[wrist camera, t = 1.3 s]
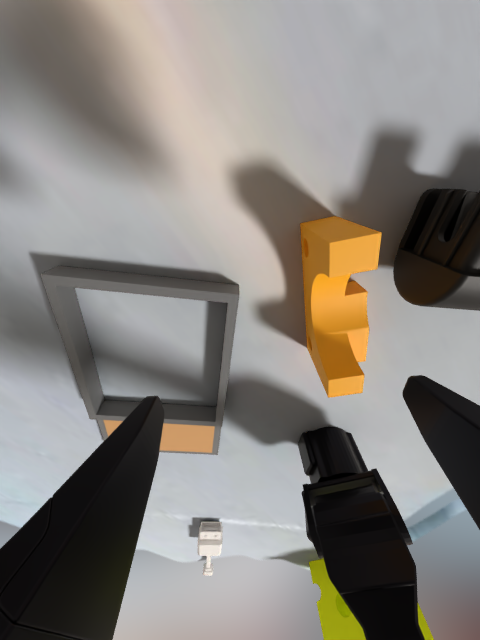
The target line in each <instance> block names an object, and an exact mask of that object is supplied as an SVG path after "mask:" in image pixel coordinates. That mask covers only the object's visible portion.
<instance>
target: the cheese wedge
mask: <svg viewBox="0 0 480 640" xmlns="http://www.w3.org/2000/svg"><path fill="white" fill-rule="evenodd" d="M309 565H310V570H311V575H312V581H313V584H314V583H317V584H318V585H319V587H320V589H321V598H320V600H319V601H318V602H317V606H318V611H319V617H320V622H321V627H322V632H323V637H324V640H366V638H365V635H364V631H363V629H362V627H361V625H360V624H359V622H358V621H357V619H356V618H355V617H354V615H353V614H352V612H351V611H350V609H349V608H348V606H347V605H346V603H345V602H344V600H343V599H342V597H341V596H340V594H339V593H338V591H337V590H336V588H335V587H334V585H333V584H332V582H331V581H330V579H329V576H328V573H327V570H326V566H325V562H324V559H319V560H315V561H311V562H309ZM418 623H419V626H420V629H421V631H422V634H423V636H424V638H425V640H434V639H433V636H432V634H431V632H430V629H429V627H428V625H427V623H426V620H425V618H424V616H423V614H422V611H421V609H420V606H419V604H418Z"/></svg>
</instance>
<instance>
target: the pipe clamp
mask: <svg viewBox="0 0 480 640" xmlns="http://www.w3.org/2000/svg"><path fill="white" fill-rule="evenodd" d="M300 228H301V247H302V265H303V283H304V301H305V319H306V338H307V349H308V351H309V353H310V356H311V358H312V360H313V363H314V365H315V367H316V370H317V372H318V374H319V377H320V379H321V381H322V384H323V386H324V388H325V391H326V393H327V395H328V398H329V397H336V396H343V395H350V394H357V393H362V391H363V383H364V373H363V372H362V370H361V368H360V366H359V365H358V362H362V361H365V360H366V352H367V343H368V335H369V325H368V318H367V294H368V292H367V291H366V290H365V289H364V288H363V287H362V286H360V285H359V284H358V283H357V282H356V281H351V282H348V280H349V277H350V276H351V274H354V273H359V272H364V271H370V270H375V269H377V267H378V259H379V251H380V243H381V234H382V233H381V232H379V231H376V230H373V229H370V228H367V227H365V226H362V225H359V224H356V223H354V222H351V221H348V220H345V219H342V218H340V217H337V216H333V217H328V218H323V219H318V220H314V221H309V222H304V223H300Z"/></svg>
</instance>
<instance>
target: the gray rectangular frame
mask: <svg viewBox="0 0 480 640" xmlns="http://www.w3.org/2000/svg"><path fill="white" fill-rule="evenodd" d="M40 275H41V278H42V281H43V284H44V287H45V290H46V293H47V296H48V298H49V301H50V304H51V307H52V310H53V313H54V316H55V319H56V322H57V325H58V328H59V331H60V334H61V336H62V339H63V342H64V345H65V348H66V351H67V354H68V357H69V360H70V363H71V366H72V369H73V371H74V374H75V377H76V380H77V383H78V386H79V389H80V392H81V395H82V398H83V401H84V404H85V406H86V409H87V412H88V415H89V418H90V419H96V420H114V421H124V420H125V418H126V417H127V416H128V415H129V414H130V413H131V412H132V411H133V410H134V409H135V408H136V407H137V406H138V405H139V404H140V403H141V402H129V401H113V400H105V399H104V395H103V391H102V388H101V384H100V380H99V377H98V373H97V369H96V365H95V362H94V358H93V354H92V351H91V347H90V343H89V340H88V336H87V332H86V329H85V325H84V321H83V317H82V314H81V310H80V306H79V303H78V299H77V295H76V292H75V288H83V289H94V290H104V291H114V292H124V293H134V294H144V295H154V296H164V297H174V298H184V299H194V300H204V301H214V302H224V303H227V313H226V322H225V332H224V341H223V351H222V360H221V370H220V379H219V389H218V399H217V407H208V406H192V405H176V404H162V406H163V408H164V412H165V416H164V423H167V424H184V425H202V426H219V427H222V422H223V414H224V407H225V399H226V392H227V384H228V376H229V369H230V361H231V354H232V346H233V339H234V331H235V323H236V316H237V308H238V301H239V285H235V284H226V283H217V282H207V281H198V280H188V279H179V278H170V277H160V276H151V275H142V274H132V273H123V272H113V271H104V270H95V269H85V268H76V267H66V266H56V267H54V268H52V269H50V270H48V271H46V272H44V273H42V274H40Z"/></svg>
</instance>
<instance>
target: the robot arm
mask: <svg viewBox="0 0 480 640" xmlns="http://www.w3.org/2000/svg"><path fill="white" fill-rule="evenodd" d="M403 398H404V400H405V402H406V404H407V406H408V408H409V410H410V412H411V414H412V416H413V418H414V420H415V422H416V424H417V426H418V428H419V430H420V432H421V434H422V436H423V438H424V440H425V442H426V443H427V445H428V447H429V449H430V450H431V452H432V453H433V455H434V457H435V458H436V460H437V462H438V463H439V465H440V466H441V468H442V470H443V471H444V473H445V474H446V476H447V478H448V479H449V481H450V483H451V484H452V486H453V487H454V489H455V491H456V492H457V494H458V496H459V497H460V499H461V500H462V502H463V504H464V505H465V507H466V508H467V510H468V512H469V513H470V515H471V516H472V518H473V520H474V521H475V523H476V524H477V526H478V528H479V529H480V406H479V405H477V404H476V403H474V402H472V401H470V400H468V399H466V398H464V397H463V396H461V395H459V394H457V393H455V392H453V391H451V390H450V389H448V388H446V387H444V386H442V385H440V384H438V383H437V382H435V381H433V380H431V379H429V378H427V377H425V376H422V375H418V376H410V377H409V378H408V380H407V382H406V385H405V387H404V390H403ZM164 416H165V412H164V408H163V406H162V403H161V401H160V398H159V397H158V396H148V397H146V398H144V399H143V401H142V402H141V403H140V404H139V405H138V406H137V407H136V408H135V409H134V410H133V411H132V412H131V413H130V414H129V415H128V416H127V417H126V418H125V420H124V421H123V422H122V423H121V424H120V425H119V426H118V427H117V428H116V429H115V430H114V431H113V432H112V433H111V434H110V435H109V436H108V438H107V439H106V440H105V441H104V442H103V443H102V444H101V445H100V446H99V447H98V448H97V449H96V450H95V451H94V452H93V453H92V454H91V455H90V457H89V458H88V459H87V460H86V461H85V462H84V463H83V464H82V465H81V466H80V467H79V468H78V469H77V470H76V471H75V472H74V473H73V474H72V476H71V477H70V478H69V479H68V480H67V481H66V482H65V483H64V484H63V485H62V486H61V487H60V488H59V489H58V490H57V491H56V492H55V493H54V495H53V498H50V499H49V500H48V501H47V502H46V503H45V504H44V505H43V506H42V507H41V508H40V509H39V510H38V511H37V512H36V513H35V514H34V515H33V516H32V517H31V518H30V520H29V521H28V522H27V523H26V524H25V525H24V526H23V527H22V528H21V529H20V530H19V531H18V532H17V533H16V534H15V535H14V536H13V537H12V538H11V539H10V540H9V541H8V542H7V543H6V544H5V545H4V546H3V547H2V548H1V549H0V640H112V639H113V635H114V631H115V627H116V623H117V619H118V616H119V612H120V608H121V604H122V599H123V596H124V592H125V588H126V584H127V580H128V576H129V572H130V568H131V564H132V560H133V556H134V553H135V549H136V545H137V541H138V537H139V533H140V529H141V525H142V521H143V517H144V513H145V509H146V505H147V501H148V497H149V494H150V490H151V486H152V482H153V478H154V474H155V470H156V466H157V461H158V456H159V450H160V443H161V437H162V430H163V423H164ZM298 447H299V451H300V455H301V459H302V463H303V468H304V472H305V474H306V475H308V476H309V477H310V481H311V484H304V485H303V489H304V491H303V492H302V497H303V501H304V506H305V517H306V532H307V537H308V539H309V540H310V541H311V542H312V543H313V544H314V547H315V549H316V551H317V554H318V556H319V558H324V562H325V566H326V570H327V573H328V576H329V579H330V581H331V582H332V584H333V585H334V587H335V588H336V590H337V591H338V593H339V594H340V596H341V597H342V599H343V600H344V602H345V603H346V605H347V606H348V608H349V609H350V611H351V612H352V614H353V615H354V617H355V618H356V619H357V621H358V622H359V624H360V625H361V627H362V629H363V631H364V635H365V638H366V640H425V638H424V636H423V634H422V631H421V629H420V626H419V623H418V601H417V577H416V565H415V563H414V560H413V558H412V556H411V554H410V552H409V549H408V547H407V545H411V544H413V543H412V540H411V537H410V535H409V532H408V530H407V528H406V526H405V523H404V521H403V519H402V517H401V515H400V513H399V511H398V509H397V507H396V505H395V503H394V501H393V499H392V497H391V495H390V493H389V492H388V490H387V488H386V486H385V484H384V482H383V480H382V479H381V477H380V475H379V473H378V471H377V469H371V471H368V469H367V467H366V465H365V463H364V460H363V458H362V456H361V454H360V452H359V450H358V447H357V445H356V443H355V441H354V439H353V437H352V434H351V433H346V432H345V431H344V430H342V429H340V428H337V427H324V428H320V429H317V430H315V431H307V433H303V434H302V436H301V438H300V440H299V442H298Z"/></svg>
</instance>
